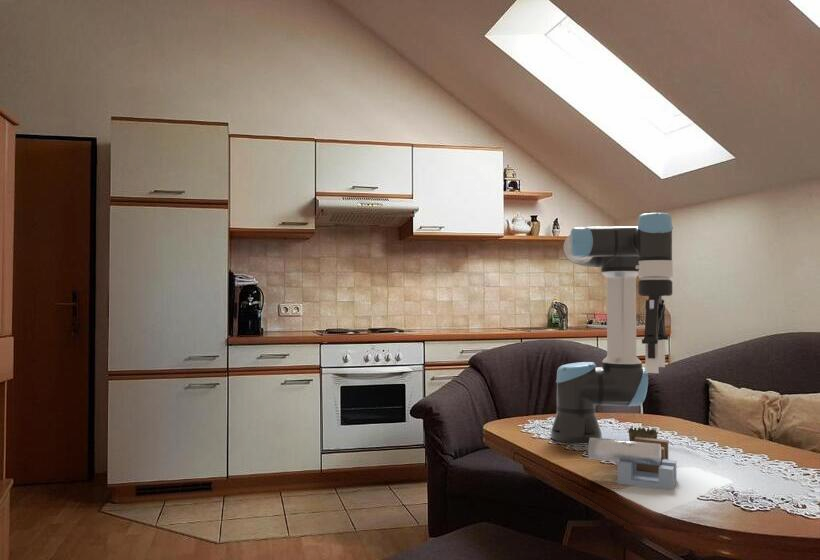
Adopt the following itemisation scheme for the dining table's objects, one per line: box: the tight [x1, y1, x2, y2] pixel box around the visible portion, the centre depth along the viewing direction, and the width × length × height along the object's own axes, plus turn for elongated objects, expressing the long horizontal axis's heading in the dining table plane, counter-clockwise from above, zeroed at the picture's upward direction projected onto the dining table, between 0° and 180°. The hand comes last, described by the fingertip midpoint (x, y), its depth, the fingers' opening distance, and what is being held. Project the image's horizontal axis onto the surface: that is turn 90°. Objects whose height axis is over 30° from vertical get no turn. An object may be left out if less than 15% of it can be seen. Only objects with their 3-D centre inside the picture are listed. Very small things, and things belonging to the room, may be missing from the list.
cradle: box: [617, 459, 678, 491], centre depth 155 cm, size 9×12×5 cm
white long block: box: [587, 437, 661, 466], centre depth 157 cm, size 5×16×5 cm, turn 63°
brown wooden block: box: [634, 437, 669, 473], centre depth 166 cm, size 12×8×7 cm
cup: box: [627, 426, 659, 441], centre depth 177 cm, size 8×7×8 cm
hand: (655, 369), depth 154 cm, fingers open, 13 cm apart
